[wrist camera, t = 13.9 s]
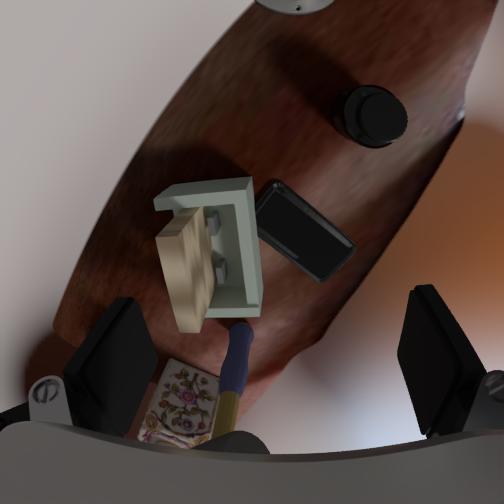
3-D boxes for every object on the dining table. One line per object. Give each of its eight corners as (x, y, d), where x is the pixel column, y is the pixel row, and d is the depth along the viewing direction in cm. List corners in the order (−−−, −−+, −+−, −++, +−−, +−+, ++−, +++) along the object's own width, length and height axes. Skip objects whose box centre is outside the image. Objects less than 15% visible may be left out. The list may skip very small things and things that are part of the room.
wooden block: (181, 202, 41) (146, 238, 30) (205, 200, 41) (177, 236, 30) (196, 280, 46) (171, 332, 36) (218, 280, 46) (198, 333, 35)
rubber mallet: (237, 357, 54) (207, 514, 27) (203, 335, 53) (152, 494, 26) (285, 318, 50) (277, 499, 23) (248, 291, 48) (211, 478, 21)
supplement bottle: (367, 81, 33) (400, 72, 23) (389, 129, 36) (427, 139, 25) (320, 100, 35) (336, 96, 24) (343, 148, 38) (366, 164, 27)
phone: (277, 179, 40) (359, 248, 42) (277, 177, 41) (357, 245, 43) (240, 223, 43) (321, 285, 45) (241, 221, 44) (320, 282, 47)
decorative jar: (225, 378, 57) (209, 457, 41) (206, 406, 62) (189, 476, 46) (168, 354, 56) (137, 430, 40) (155, 385, 61) (128, 453, 45)
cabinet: (172, 184, 42) (153, 198, 35) (251, 176, 40) (245, 189, 34) (193, 290, 49) (181, 317, 43) (263, 288, 48) (259, 316, 41)
